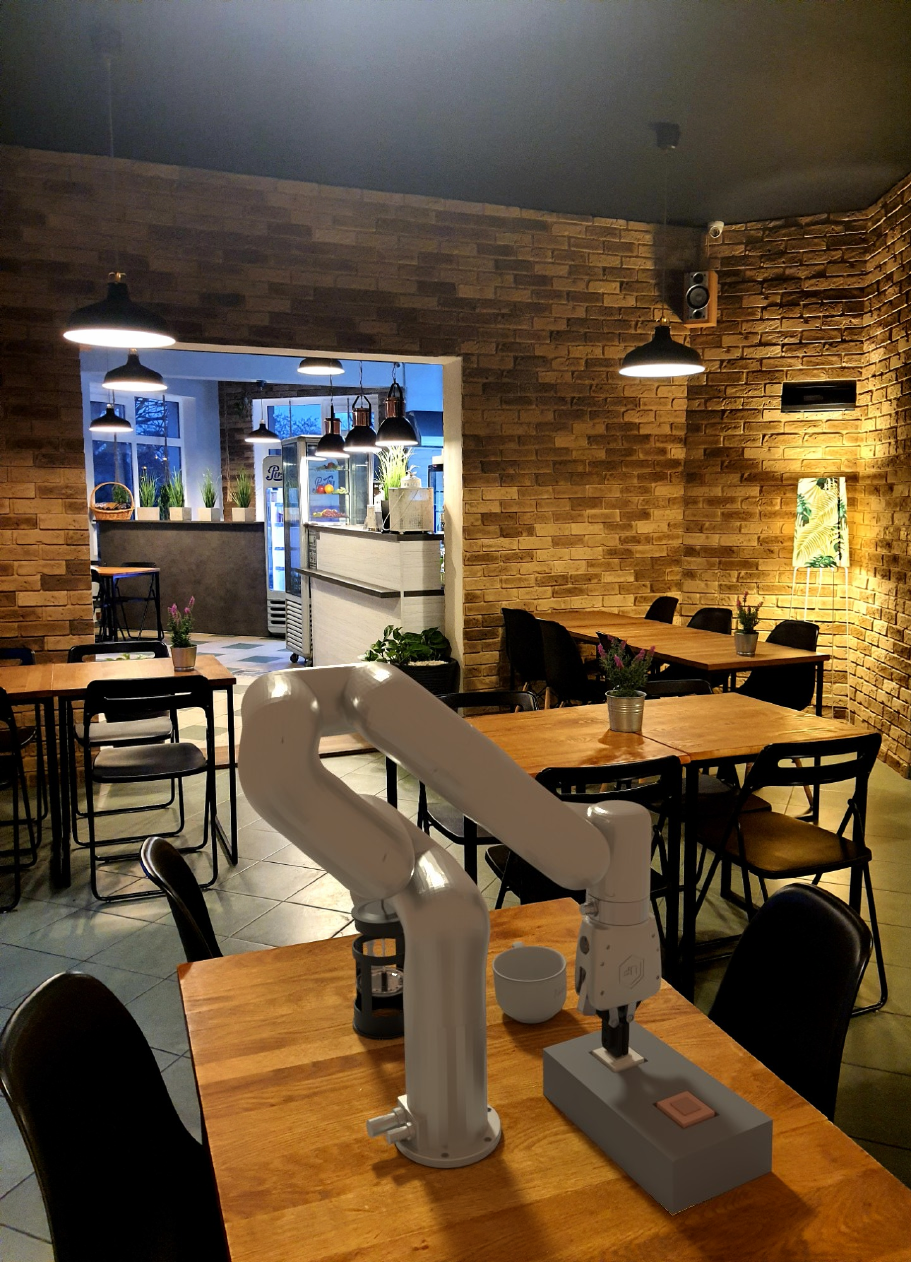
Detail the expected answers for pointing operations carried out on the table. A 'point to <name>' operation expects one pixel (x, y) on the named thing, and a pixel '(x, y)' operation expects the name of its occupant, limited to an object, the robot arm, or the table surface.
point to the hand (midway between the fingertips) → (615, 1050)
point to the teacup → (530, 982)
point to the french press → (378, 971)
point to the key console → (659, 1119)
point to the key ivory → (618, 1059)
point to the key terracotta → (685, 1110)
